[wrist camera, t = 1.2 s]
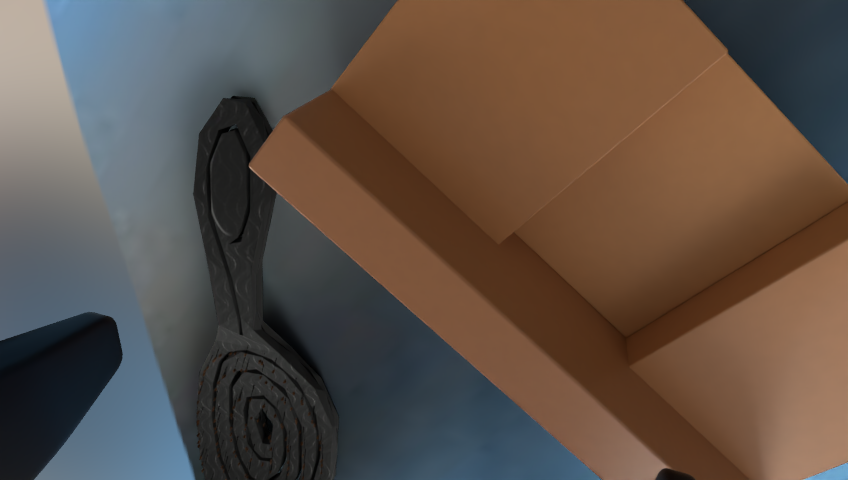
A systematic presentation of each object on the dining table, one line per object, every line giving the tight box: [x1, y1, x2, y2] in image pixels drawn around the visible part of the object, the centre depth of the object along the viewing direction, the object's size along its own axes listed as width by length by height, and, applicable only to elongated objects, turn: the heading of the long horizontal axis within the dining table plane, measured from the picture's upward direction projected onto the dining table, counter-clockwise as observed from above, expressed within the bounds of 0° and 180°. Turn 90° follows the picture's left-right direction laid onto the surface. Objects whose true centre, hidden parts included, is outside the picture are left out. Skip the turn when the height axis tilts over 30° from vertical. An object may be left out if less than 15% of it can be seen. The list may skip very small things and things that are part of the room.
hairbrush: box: [193, 96, 339, 480], centre depth 27 cm, size 8×4×25 cm
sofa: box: [249, 0, 848, 480], centre depth 17 cm, size 20×10×8 cm, turn 50°
